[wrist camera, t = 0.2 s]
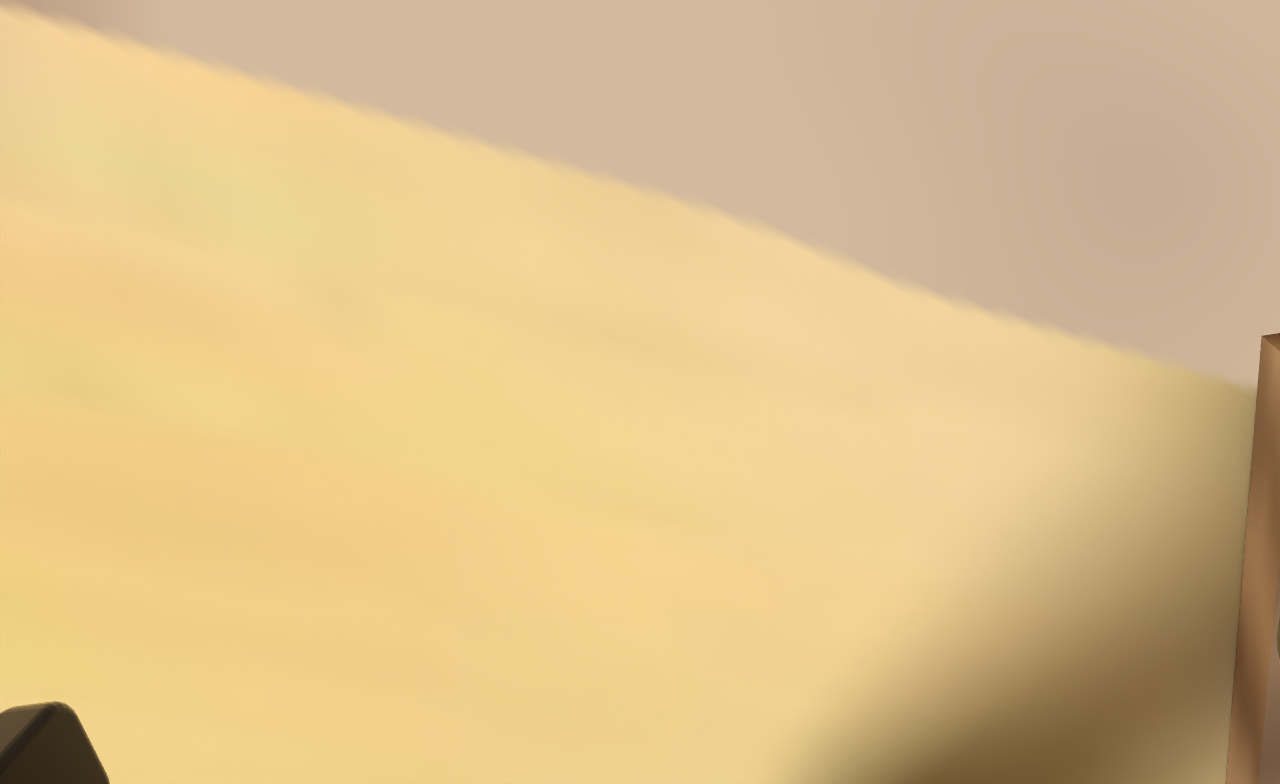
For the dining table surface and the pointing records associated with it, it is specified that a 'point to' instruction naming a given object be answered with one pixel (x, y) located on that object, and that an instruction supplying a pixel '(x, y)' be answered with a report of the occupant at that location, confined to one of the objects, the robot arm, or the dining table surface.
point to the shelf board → (1260, 596)
